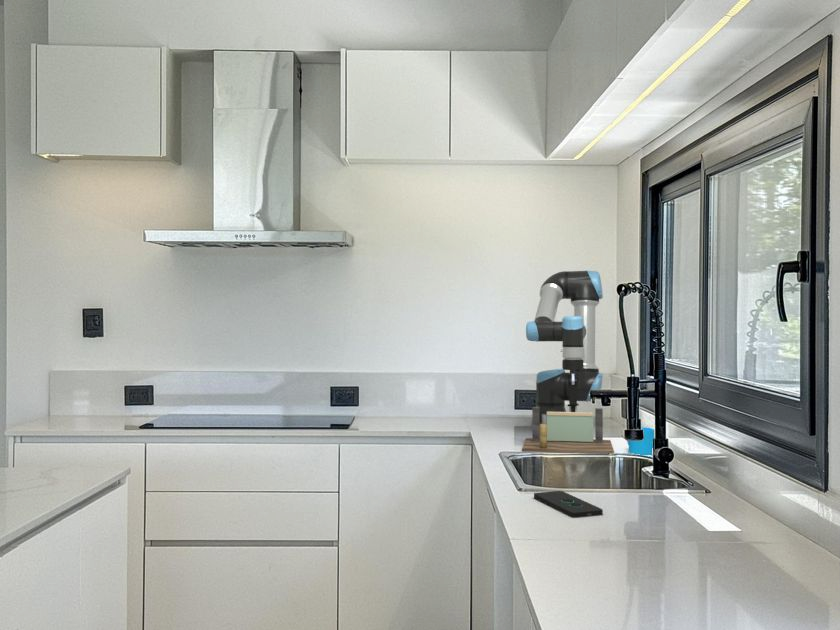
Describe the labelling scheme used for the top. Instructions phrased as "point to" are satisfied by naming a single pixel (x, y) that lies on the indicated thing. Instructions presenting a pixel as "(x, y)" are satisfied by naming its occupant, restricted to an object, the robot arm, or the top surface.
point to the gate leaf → (569, 426)
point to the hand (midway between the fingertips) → (573, 424)
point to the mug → (643, 443)
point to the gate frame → (542, 445)
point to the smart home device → (568, 504)
